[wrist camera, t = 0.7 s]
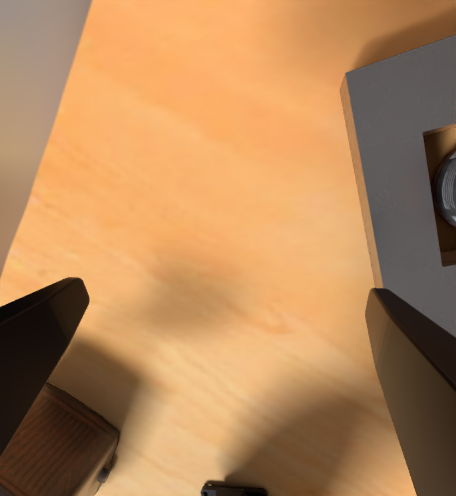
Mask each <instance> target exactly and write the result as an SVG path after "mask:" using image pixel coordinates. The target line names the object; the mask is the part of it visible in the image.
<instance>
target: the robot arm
mask: <svg viewBox="0 0 456 496" xmlns="http://www.w3.org/2000/svg"><path fill="white" fill-rule="evenodd" d="M88 305H89V295H88V292H87V290H86V287H85V285H84V282H83V280H82V279H81V278H77V277H68V278H65V279H63V280H61V281H58V282H56V283H54V284H51V285H49V286H47V287H45V288H42V289H40V290H38V291H35V292H33V293H31V294H29V295H26V296H24V297H22V298H19V299H17V300H15V301H13V302H10V303H8V304H6V305H4V306H1V307H0V458H1V456H2V454H3V453H4V451H5V449H6V448H7V446H8V445H9V443H10V441H11V440H12V438H13V436H14V435H15V433H16V431H17V430H18V428H19V426H20V425H21V423H22V421H23V420H24V418H25V417H26V415H27V413H28V412H29V410H30V408H31V407H32V405H33V403H34V402H35V400H36V398H37V397H38V395H39V393H40V392H41V390H42V389H43V387H44V385H45V384H46V382H47V380H48V379H49V377H50V375H51V374H52V372H53V370H54V369H55V367H56V365H57V364H58V362H59V360H60V359H61V357H62V356H63V354H64V352H65V351H66V349H67V347H68V345H69V344H70V342H71V340H72V338H73V336H74V334H75V332H76V329H77V327H78V325H79V323H80V321H81V319H82V317H83V315H84V313H85V311H86V309H87V307H88ZM365 317H366V323H367V328H368V333H369V338H370V343H371V348H372V353H373V358H374V363H375V368H376V371H377V375H378V378H379V381H380V384H381V387H382V390H383V393H384V396H385V399H386V402H387V405H388V408H389V411H390V415H391V418H392V421H393V424H394V427H395V430H396V433H397V436H398V439H399V442H400V445H401V448H402V451H403V454H404V457H405V460H406V464H407V467H408V470H409V473H410V476H411V479H412V482H413V485H414V488H415V491H416V494H417V496H456V337H455V336H453V335H452V334H450V333H449V332H448V331H446V330H445V329H443V328H442V327H441V326H439V325H438V324H436V323H435V322H434V321H432V320H431V319H429V318H428V317H427V316H425V315H424V314H422V313H421V312H420V311H418V310H417V309H415V308H414V307H413V306H411V305H410V304H408V303H407V302H406V301H404V300H403V299H401V298H400V297H399V296H397V295H396V294H394V293H393V292H392V291H390V290H389V289H386V288H372V289H371V290H370V292H369V296H368V301H367V306H366V311H365ZM201 496H269V495H268V492H267V491H266V490H265V489H262V488H244V487H225V486H207V485H205V486H203V487H202V490H201Z"/></svg>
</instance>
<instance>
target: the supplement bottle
mask: <svg viewBox="0 0 456 496" xmlns="http://www.w3.org/2000/svg"><path fill="white" fill-rule="evenodd" d="M432 196H433V201H434V205H435V207H436V209H437V210H438V212H439V213H440V215H441V216H442V217H443V218H444V219H445V220H446V221H447V222H448V223H449V224H451V225H453V226H455V227H456V149H455V150H454V151H453V152H451V153H450V154H449V155H448V156H447V157H446V159H445V160H444V161H443V162H442V163H441V165H440V166H439V168H438V170H437V172H436V175H435V178H434V181H433V186H432Z"/></svg>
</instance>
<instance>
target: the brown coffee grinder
mask: <svg viewBox="0 0 456 496" xmlns="http://www.w3.org/2000/svg"><path fill="white" fill-rule="evenodd" d="M118 435H119V432H118V431H117V430H116V429H115V428H114V427H113V426H112V425H110V424H109V423H108V422H107V421H106V420H105V419H104V418H103V417H102V416H100V415H99V414H97V413H96V412H94V411H93V410H91V409H90V408H88V407H87V406H85V405H84V404H83V403H81V402H80V401H78V400H77V399H75V398H74V397H72V396H71V395H69V394H68V393H66V392H64V391H62V390H60V389H58V388H56V387H54V386H52V385H51V384H49V383H47V382H46V384H45V385H44V387H43V389H42V390H41V392H40V393H39V395H38V397H37V398H36V400H35V402H34V403H33V405H32V407H31V408H30V410H29V412H28V413H27V415H26V417H25V418H24V420H23V421H22V423H21V425H20V426H19V428H18V430H17V431H16V433H15V435H14V436H13V438H12V440H11V441H10V443H9V445H8V446H7V448H6V449H5V451H4V453H3V454H2V456H1V458H0V496H94V495H95V494H96V492H97V490H98V488H99V487H100V485H101V483H105V481H106V479H107V477H108V476H109V473H110V470H111V463H112V457H113V455H114V452H115V449H116V446H117V441H118Z"/></svg>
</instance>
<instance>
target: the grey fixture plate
mask: <svg viewBox="0 0 456 496" xmlns="http://www.w3.org/2000/svg"><path fill="white" fill-rule="evenodd" d="M340 94H341V100H342V105H343V111H344V117H345V122H346V128H347V133H348V139H349V144H350V150H351V155H352V161H353V166H354V172H355V177H356V183H357V188H358V194H359V199H360V205H361V210H362V216H363V221H364V227H365V232H366V238H367V244H368V249H369V255H370V260H371V266H372V271H373V277H374V282H375V288H386V289H389V290H390V291H392V292H393V293H394V294H396V295H397V296H399V297H400V298H401V299H403V300H404V301H406V302H407V303H408V304H410V305H411V306H413V307H414V308H415V309H417V310H418V311H420V312H421V313H422V314H424V315H425V316H427V317H428V318H429V319H431V320H432V321H434V322H435V323H436V324H438V325H439V326H441V327H442V328H443V329H445V330H446V331H448V332H449V333H450V334H452V335H453V336H455V337H456V250H455V251H448V252H442V253H440V248H439V241H438V234H437V228H436V221H435V214H434V207H433V201H432V194H431V187H430V180H429V174H428V167H427V160H426V154H425V147H424V140H423V136H425V135H429V134H433V133H437V132H440V131H444V130H448V129H451V128H455V127H456V35H453V36H450V37H447V38H444V39H442V40H439V41H436V42H433V43H430V44H427V45H424V46H421V47H419V48H416V49H413V50H410V51H407V52H404V53H401V54H398V55H396V56H393V57H390V58H387V59H384V60H381V61H378V62H375V63H373V64H370V65H367V66H364V67H361V68H358V69H355V70H353V71H350V72H347V73H345V76H344V79H343V82H342V85H341V88H340Z"/></svg>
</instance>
